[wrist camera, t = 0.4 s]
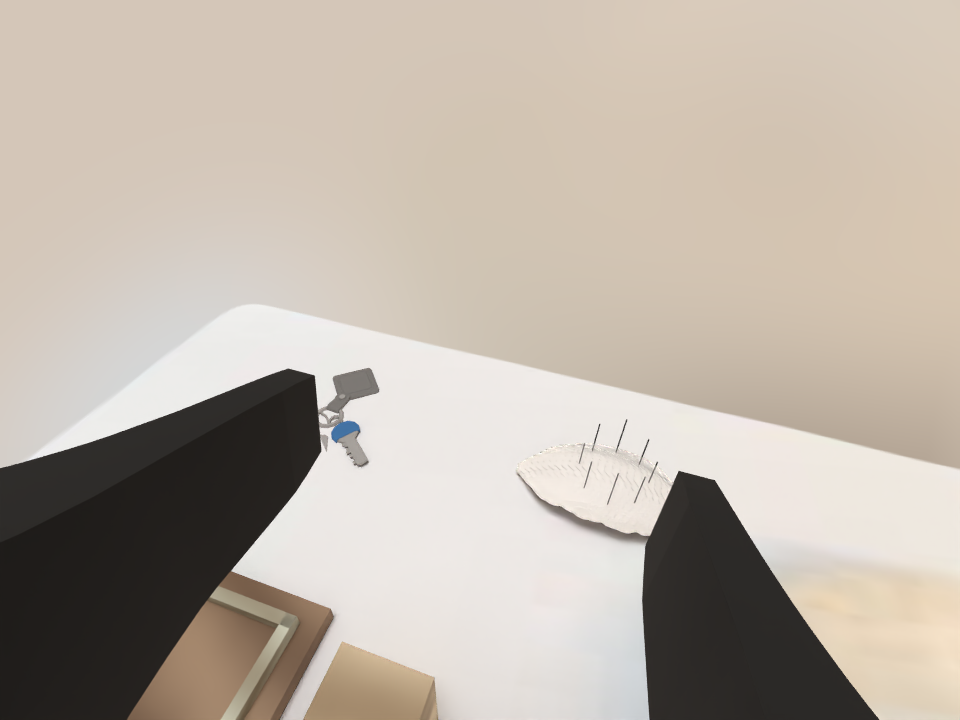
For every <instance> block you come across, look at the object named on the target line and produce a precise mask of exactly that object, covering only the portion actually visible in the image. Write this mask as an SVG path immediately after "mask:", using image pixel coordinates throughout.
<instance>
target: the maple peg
mask: <svg viewBox="0 0 960 720" xmlns="http://www.w3.org/2000/svg"><path fill="white" fill-rule="evenodd" d="M303 720H438V714H437V703H436V692H435V681H434V677H431V676H429V675H426V674H424V673H421V672H418V671H416V670H413V669H411V668H408V667H406V666H403V665H401V664H398V663H395V662H393V661H390V660H388V659H385V658H383V657H380V656H378V655H375V654H372V653H370V652H367V651H365V650H362V649H360V648H357V647H354V646H352V645H349V644H347V643H344V642H342V643H341V645H340V647H339V649H338V651H337V653H336V655H335V657H334V659H333V661H332V663H331V665H330V667H329V669H328V671H327V673H326V675H325V677H324V679H323V681H322V683H321V685H320V687H319V689H318V691H317V693H316V695H315V697H314V699H313V701H312V703H311V705H310V707H309V709H308V711H307V713H306V715H305V717H304V719H303Z"/></svg>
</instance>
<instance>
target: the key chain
mask: <svg viewBox="0 0 960 720" xmlns="http://www.w3.org/2000/svg"><path fill="white" fill-rule="evenodd" d="M333 381H334V385H335V388H336V392H337V396H336V397H335V399H334V400H333V401H332V402H330V403H329V404H328V406H327V407H323V408H321V409H320V410H318V416H319V414H320V413H321V414H322V415H324V416H325V418H326V420H327V423H328V424H322V423H320V422H319V427H321V428H329V427H333V426H335V425H337V424H338V423H340V422H341V423H340V424H338V425H337V426H335V427H334V429H333V431H332V432H331V434H332V439H333V440H334V441H335V442H336V443H337V442H340V443H342V446H344V447H345V448H346V447H348V449H346V450H347V452H346V453H347V455H348V454H350V453H351V455H349V456H350V458H352V457H353V458H354V460H355V461H353V463H354V465H355V464H357V465H363V464H365V463H366V462H367V461H368V459H367V457H366V456H365V454H364V452H363V451H362V449H361V447H360V445H359V444H358V442H357V440H356V436H357V434H358V432H360V429H359V425H358V424H356V423H355V422H352V421H346V422H343V420H342V419H343V417H344V413H343V411H342V410H341V409H342V408H343V407H344V406H345V405H346V404H347V403H348V401H349V400H352V399H356V398H360V397H364V396H368V395H372V394H376V393H378V392H379V388H378V385H377V383H376V380H375V378H374V375H373V373H372V370H371V369H370V368H366V369H362V370H358V371H354V372H349V373H345V374H341V375H337V376H334V377H333ZM325 410H330V411H333V412H335V413H339V416H338V415H334V416H332V417H331V418H330V419H328V417H327V415H325V414H324V413H322V412H323V411H325ZM335 417H338V420H336V421H335V422H333V423H331V420H332V419H333V418H335ZM320 438H321V440H322V442H323V445H324V447H325V449H326V452H327V443H328V436H326V435H320Z"/></svg>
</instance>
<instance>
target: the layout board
mask: <svg viewBox="0 0 960 720" xmlns="http://www.w3.org/2000/svg"><path fill="white" fill-rule="evenodd" d="M333 617H334V616H333V614H332V611H331V609H330V608H327V607H324V606H322V605H319V604H316V603H314V602H311V601H308V600H306V599H303V598H300V597H298V596H295V595H292V594H290V593H287V592H284V591H282V590H279V589H276V588H274V587H271V586H268V585H266V584H263V583H260V582H258V581H255V580H252V579H250V578H247V577H245V576H242V575H239V574H237V573H234V572H231V571H230V572H229V574H228V575H227V576H226V577H225V578H224V580H223V581H222V582H221V583H220V584H219V586H218V587H217V588H216V590H215V591H214V592H213V593H212V595H211V596H210V597H209V599H208V600H207V601H206V603H205V604H204V605H203V606H202V608H201V609H200V611H199V612H198V614H197V615H196V616H195V618H194V619H193V621H192V622H191V624H190V625H189V627H188V628H187V630H186V631H185V632H184V634H183V635H182V637H181V638H180V640H179V641H178V643H177V644H176V646H175V647H174V648H173V650H172V651H171V653H170V654H169V656H168V657H167V659H166V660H165V662H164V663H163V665H162V666H161V668H160V669H159V671H158V672H157V674H156V675H155V677H154V679H153V680H152V682H151V683H150V685H149V686H148V688H147V689H146V691H145V692H144V694H143V695H142V697H141V698H140V700H139V702H138V703H137V705H136V706H135V708H134V709H133V711H132V712H131V714H130V715H129V717H128V719H127V720H279V719H280V717H281V715H282V713H283V711H284V709H285V707H286V706H287V704H288V702H289V700H290V698H291V696H292V694H293V692H294V691H295V689H296V687H297V685H298V683H299V681H300V679H301V677H302V676H303V674H304V672H305V670H306V668H307V666H308V664H309V662H310V661H311V659H312V657H313V655H314V653H315V651H316V649H317V647H318V646H319V644H320V642H321V640H322V638H323V636H324V634H325V632H326V631H327V629H328V627H329V625H330V623H331V621H332V619H333Z"/></svg>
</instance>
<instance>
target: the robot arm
mask: <svg viewBox="0 0 960 720" xmlns="http://www.w3.org/2000/svg"><path fill="white" fill-rule="evenodd" d="M320 453H321V441H320V429H319V418H318V407H317V395H316V384H315V376H314V375H311V374H307V373H303V372H299V371H295V370H292V369H286V370H283V371H280V372H277V373H274V374H271V375H268V376H266V377H263V378H260V379H258V380H255V381H253V382H250V383H247V384H245V385H242V386H240V387H237V388H235V389H232V390H230V391H227V392H225V393H222V394H220V395H217V396H215V397H212V398H210V399H207V400H205V401H202V402H200V403H197V404H195V405H192V406H190V407H187V408H185V409H182V410H180V411H177V412H174V413H172V414H169V415H166V416H163V417H161V418H158V419H155V420H152V421H150V422H147V423H144V424H141V425H139V426H136V427H133V428H130V429H127V430H125V431H122V432H119V433H116V434H114V435H111V436H108V437H105V438H102V439H99V440H96V441H93V442H90V443H87V444H83V445H80V446H77V447H74V448H71V449H67V450H64V451H61V452H57V453H54V454H50V455H47V456H43V457H40V458H37V459H33V460H30V461H26V462H23V463H19V464H15V465H12V466H8V467H3V468H0V720H127V719H128V717H129V715H130V714H131V712H132V711H133V709H134V708H135V706H136V705H137V703H138V702H139V700H140V698H141V697H142V695H143V694H144V692H145V691H146V689H147V688H148V686H149V685H150V683H151V682H152V680H153V679H154V677H155V675H156V674H157V672H158V671H159V669H160V668H161V666H162V665H163V663H164V662H165V660H166V659H167V657H168V656H169V654H170V653H171V651H172V650H173V648H174V647H175V646H176V644H177V643H178V641H179V640H180V638H181V637H182V635H183V634H184V632H185V631H186V630H187V628H188V627H189V625H190V624H191V622H192V621H193V619H194V618H195V616H196V615H197V614H198V612H199V611H200V609H201V608H202V606H203V605H204V604H205V603H206V601H207V600H208V599H209V597H210V596H211V595H212V593H213V592H214V591H215V590H216V588H217V587H218V586H219V584H220V583H221V582H222V581H223V580H224V578H225V577H226V576H227V575H228V574H229V572H230V571H231V570H232V569H233V568H234V566H235V565H236V564H237V563H238V562H239V560H240V559H241V558H242V557H243V556H244V554H245V553H246V552H247V551H248V550H249V548H250V547H251V546H252V545H253V544H254V542H255V541H256V540H257V539H258V538H259V536H260V535H261V534H262V533H263V532H264V530H265V529H266V528H267V527H268V526H269V524H270V523H271V522H272V521H273V520H274V518H275V517H276V516H277V515H278V513H279V512H280V511H281V510H282V508H283V507H284V506H285V505H286V504H287V502H288V501H289V500H290V499H291V497H292V496H293V495H294V494H295V492H296V491H297V489H298V488H299V486H300V485H301V483H302V482H303V480H304V479H305V477H306V476H307V474H308V472H309V471H310V469H311V467H312V466H313V464H314V462H315V461H316V459H317V458H318V456H319V454H320ZM642 604H643V623H644V640H645V657H646V672H647V688H648V704H649V719H650V720H879V719H878V717H877V716H876V715H875V714H874V712H873V711H872V710H871V709H870V708H869V706H868V705H867V704H866V702H865V701H864V700H863V699H862V697H861V696H860V695H859V693H858V692H857V691H856V689H855V688H854V687H853V686H852V684H851V683H850V682H849V680H848V679H847V678H846V676H845V675H844V674H843V672H842V671H841V670H840V668H839V667H838V666H837V664H836V663H835V661H834V660H833V659H832V657H831V656H830V655H829V653H828V652H827V650H826V649H825V648H824V646H823V645H822V644H821V642H820V641H819V640H818V638H817V637H816V635H815V634H814V633H813V631H812V630H811V629H810V627H809V626H808V624H807V623H806V621H805V620H804V619H803V617H802V616H801V614H800V613H799V611H798V610H797V608H796V607H795V606H794V604H793V603H792V601H791V600H790V598H789V597H788V595H787V594H786V592H785V591H784V589H783V588H782V586H781V585H780V583H779V582H778V580H777V579H776V577H775V576H774V574H773V573H772V571H771V570H770V568H769V566H768V565H767V563H766V562H765V560H764V559H763V557H762V556H761V554H760V552H759V551H758V549H757V548H756V546H755V544H754V543H753V541H752V540H751V538H750V536H749V535H748V533H747V532H746V530H745V528H744V527H743V525H742V524H741V522H740V520H739V519H738V517H737V515H736V514H735V512H734V511H733V509H732V507H731V506H730V504H729V502H728V501H727V499H726V498H725V496H724V494H723V493H722V491H721V489H720V488H719V486H718V485H717V483H716V481H715V480H712V479H708V478H704V477H700V476H696V475H692V474H689V473H685V472H681V471H679V472H678V474H677V476H676V478H675V481H674V483H673V485H672V487H671V490H670V492H669V494H668V496H667V499H666V501H665V503H664V505H663V507H662V510H661V512H660V514H659V516H658V519H657V521H656V523H655V525H654V528H653V530H652V532H651V534H650V537H649V539H648V541H647V543H646V546H645V560H644V575H643V596H642Z"/></svg>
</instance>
